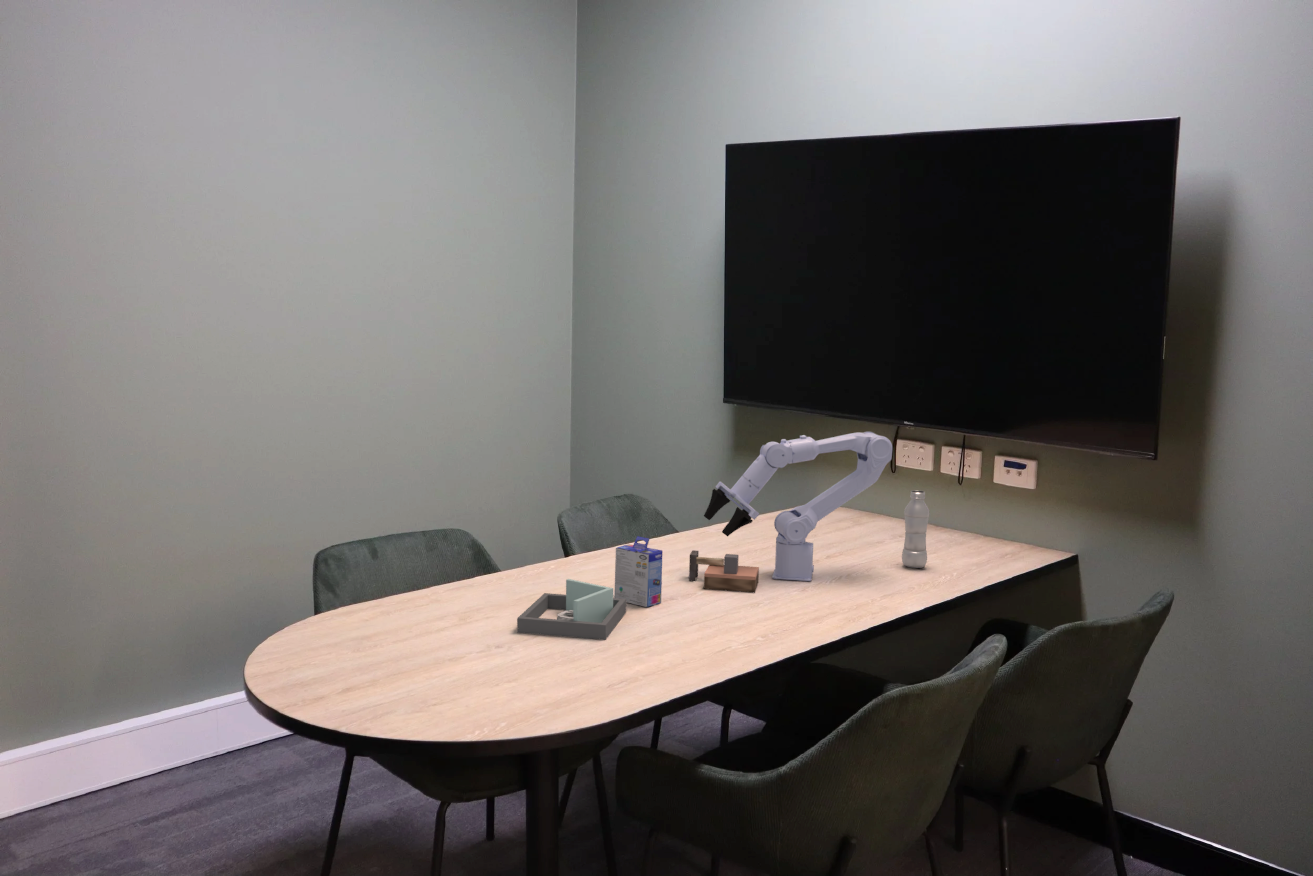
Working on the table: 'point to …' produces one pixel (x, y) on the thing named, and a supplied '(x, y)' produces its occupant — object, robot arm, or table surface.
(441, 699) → the table surface
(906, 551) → the plastic bottle
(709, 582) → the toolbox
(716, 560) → the tan rectangular bar
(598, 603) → the l-shaped corner panel
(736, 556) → the lid
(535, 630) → the dark gray square frame
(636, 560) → the ink cartridge box
